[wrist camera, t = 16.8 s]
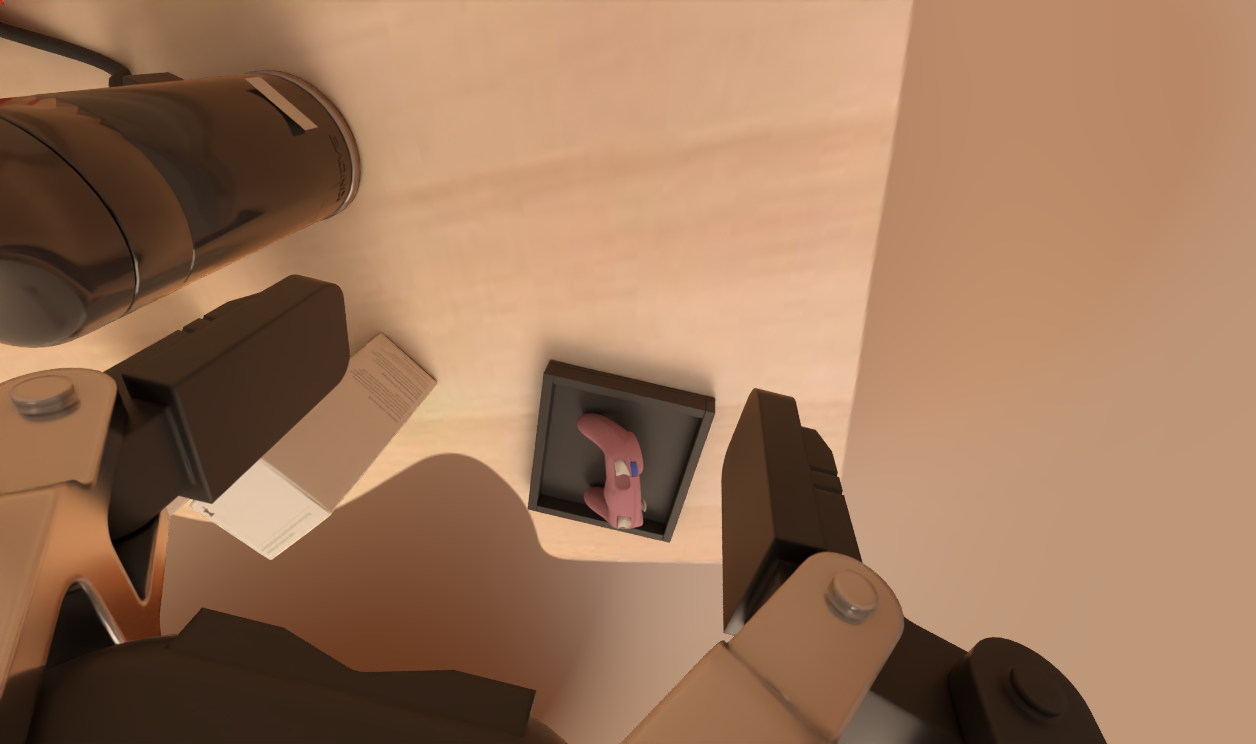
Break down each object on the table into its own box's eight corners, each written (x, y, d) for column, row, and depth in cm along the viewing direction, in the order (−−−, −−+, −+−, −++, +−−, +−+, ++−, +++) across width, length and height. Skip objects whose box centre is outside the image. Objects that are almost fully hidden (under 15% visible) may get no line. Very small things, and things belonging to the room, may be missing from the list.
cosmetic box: (386, 425, 50) (270, 566, 37) (327, 375, 47) (180, 507, 34) (442, 380, 46) (334, 519, 33) (380, 325, 44) (239, 450, 31)
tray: (533, 494, 52) (527, 509, 50) (550, 359, 43) (543, 373, 42) (671, 526, 52) (669, 543, 50) (715, 397, 43) (715, 412, 42)
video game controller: (628, 484, 51) (655, 540, 45) (581, 496, 50) (603, 555, 44) (625, 398, 46) (656, 449, 40) (573, 410, 44) (596, 464, 39)
